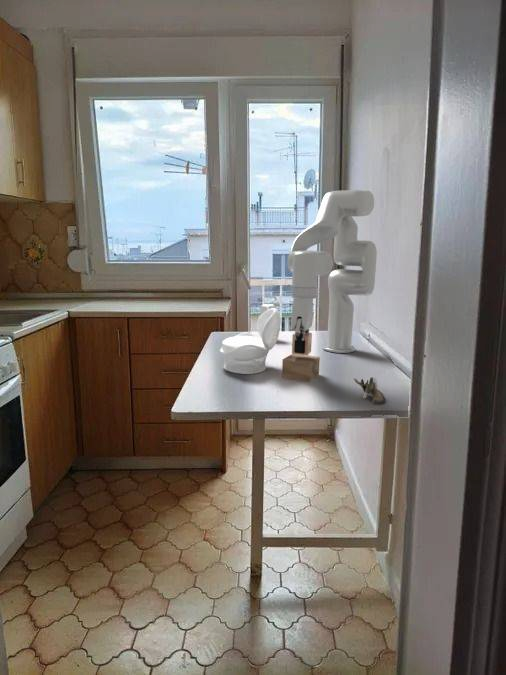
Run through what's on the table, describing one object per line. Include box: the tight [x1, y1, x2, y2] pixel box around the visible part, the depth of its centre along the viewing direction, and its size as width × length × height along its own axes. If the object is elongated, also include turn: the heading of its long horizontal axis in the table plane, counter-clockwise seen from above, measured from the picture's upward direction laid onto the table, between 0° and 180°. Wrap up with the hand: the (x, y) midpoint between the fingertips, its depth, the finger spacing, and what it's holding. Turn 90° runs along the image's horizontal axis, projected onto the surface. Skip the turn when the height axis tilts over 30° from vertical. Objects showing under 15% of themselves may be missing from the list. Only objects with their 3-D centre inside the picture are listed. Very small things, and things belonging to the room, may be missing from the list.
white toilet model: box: [219, 308, 282, 375], centre depth 147 cm, size 20×20×20 cm
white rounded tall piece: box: [259, 303, 277, 338], centre depth 192 cm, size 7×7×15 cm
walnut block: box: [281, 353, 321, 383], centre depth 141 cm, size 9×9×6 cm
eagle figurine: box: [353, 376, 387, 406], centre depth 121 cm, size 8×7×9 cm
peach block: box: [291, 332, 313, 355], centre depth 139 cm, size 5×5×6 cm
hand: (301, 350), depth 139 cm, fingers closed on peach block, 5 cm apart
